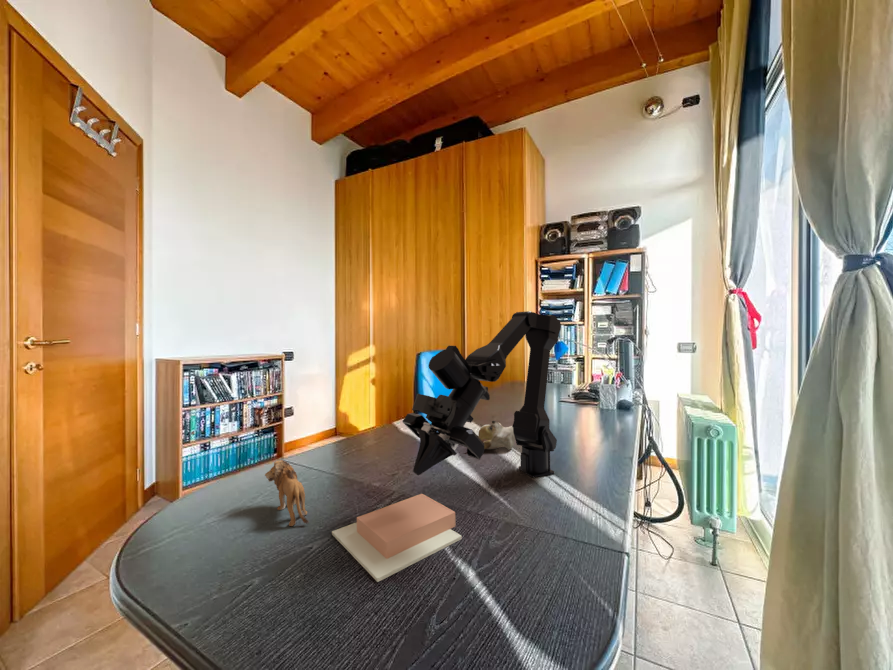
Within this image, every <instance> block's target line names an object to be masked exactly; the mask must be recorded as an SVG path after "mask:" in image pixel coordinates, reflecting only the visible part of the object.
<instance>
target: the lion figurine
mask: <svg viewBox="0 0 893 670" xmlns="http://www.w3.org/2000/svg"><path fill="white" fill-rule="evenodd" d="M264 476H265V477H266V479H267V481H268V482H270V483H271V482H273V481H274V482H273V483H274V485H275V486H276V487H275V488H276V489H277V491H278V499H279V504H280V505H279V506H278V507H277V508H276V509H277V511H283V510H285V508H286V507H287V511H288V513H289V519H290V521H289V523H288V525H289V527H293V526H296V514H295V511H294V506H295V505H296V509H297V513H298V516H299V518H300V519H301V520H302V521H303V523H304V524H309V523H310V521H309V520H308V519H307V518H306V517H305V516H307V515H308V511H307V510H306V507H305V506H306V505H305V502H306V493H305V487H304V485H303V483H302V482H301V481H299V480H298V474H297V472H296V471H295V470H294V467H293V466H292V465H291V464H290V463H289V462H287V461H285V460H280V459H279V460H277V461H275V462H273V466H272V467H271V468H270V470H269V471H267V472H266V473H264ZM285 497H286V498H285ZM285 499H286V501H285Z"/></svg>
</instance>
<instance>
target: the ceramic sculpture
mask: <svg viewBox="0 0 893 670" xmlns="http://www.w3.org/2000/svg"><path fill="white" fill-rule="evenodd" d="M512 426H513V425H510V426H503V425H502V424H501V423H500V422H498V421H496V420H492V421H491V424H490V423H489V424H484V425H482V426H481V427H480V428H479V430H478V435H477V436H478V437H479V438H480V439H481V440H482V442H483V443H484V450H496V449H498V448H506V449H507V450H508V449H509V450H510V451H511V450H512V449H513V448H514V445H515V443H516V440H515V436H514V433H513V427H512ZM495 448H496V449H495Z"/></svg>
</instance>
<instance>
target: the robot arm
mask: <svg viewBox="0 0 893 670" xmlns="http://www.w3.org/2000/svg"><path fill="white" fill-rule="evenodd" d="M561 329H562V324H561V321H560V320H559V319H558V318H557V316H556V315H553V314H549V315H548V314H540V313H536V312H533V311H532V310H528V311H527V310H526V311H516V312H514V313H513V314H512V316H511V318H510V320H509V321H508V322H507V323H506V324H505V325H504V326H503V327H502V329H501V330H499V331H498V333H497V334H496V335H495V336H494V337H493V338H492V339H491V341H489V343H487V344H486V345H484V346H481V347H478V348H476V349H475V350H474V351H472V352H471V353H470V354H468V355H467V357H466V358H464V356H463V355H462V354H461V351H460V350H459V349H460V348H458V347H457V346H456V345H448V346H446V348H445V349H442V350H440V351H439V352H438V353H436V354H435V355H433V356H432V357H431V359H430V360H429V362H428V369H429V370H430V371H431V373H432V374H433V375H434V376H435V377H436V378H437V380H438V381H439V382H440V383H441V384H442V386H443V387H444V388H445V389H446V390H451V391H450V393H449V395H446V394H445V395H444V394H438V396H437V397H434V396H430V395H427V394H422V393H421V394H420V393H417V394H416V397H415V400H414V403H413V406H412V408H411V409H412V411H414V412H418V413H422V414H424V415H426V416H423V415H422V414H418V413H414V412H411V413H410V412H409V413H407V414H406V416H405V417H404V418H403V420H402V423H403V424H404V426H406V427H407V428H408V429H409V430H410V432H412V433H413V434H414V435H415V436H416V438H419V447H418V451H417V455H416V459H415V463H414V466H413V469H412V473H414V474H415V475H417V476H421V475H422V474H424V473H425V472H426V471H428V470H429V469H431V468H432V467H434V466H436V465H437V464H439V463H440V462H442V461H444V460H446V459H448V458H449V457H452V456H454V457H455V456H457V452H456V450H457V448H458V447H459V446H461V447H464V448H466V454H467V456H469V457H470V458H473V459H475V460H478V461H480V460H481V458H482V456H483V454H484V452H485V449H484V443H483V442H482V440H481V439H480V438H479V437H478V436H479V435H478V434H476V432H475V431H474V430H473V429H472V428H468V427H465V425H466V423H469V424H471V423H473V421H474V418H473V416H472V414H473V412H474V410H475V409H476V407H477V405H478V404H479V402H480V400H485V401H490V399H491V397H490V392H489V387H488V386H484V385H483V384H482V382H480V381H483V382H491V383H495V382H497V381H498V380H499V379H500V377H501V376H502V374H503V372H504V370H505V369H506V367H507V360H506V359H507V357H508V356H509V355H510V353H511V352H512V351H513V350H514V349H515V347H516V346H517V345H518V344H519V343H520V341H521V340H522V339H523V338H524V337H525V340H526V342H527V344H528V346H529V357H528V366H527V376H526V383H525V384H526V385H525V392H524V401H523V405H522V407H521V408H520V409H519V410H515V411H514V413H513V423H512V425H511V426H512V427H513V433H514V436H515V443H516V446H519V447H521V453H520V466H518V470H520V471H522V472H523V473H524V474H526V475H528V476H529V477H531V478H539V477H544V476H549V475H554V474H555V471H554V470H552V469H551V452H554V451H555V449H556V448H557V442H558V440H557V437H555V435H554V433H553V432H552V431H551V429H550V417H549V416H548V414H547V411H546V409H545V402H546V393H547V384H548V374H549V365H550V355H551V351H552V349H553V348H554V347H555V346H556V344H557V343H558V341H559V337H560V332H561ZM430 422H431V423H430Z"/></svg>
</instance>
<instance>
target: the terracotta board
mask: <svg viewBox="0 0 893 670" xmlns="http://www.w3.org/2000/svg"><path fill="white" fill-rule="evenodd" d="M356 522H357V532H358V533H359V534H360V535H361V536H362V537H363V538H364V539H365V540H366V541H368V542H369V543H370V544H371V545H372V546H373V547H374V548H375V549H376V550H377V551H379V552H380V553H381V554H382V555H383V556H384V557H385V558H386V559H388V558H390V557H392V556H394V555H396V554H398V553H400V552H402V551H404V550H407V549H409V548H411V547H413V546H415V545H417V544H419V543H421V542H423V541H426V540H428V539H430V538H432V537H434V536H436V535H438V534H440V533H442V532H444V531H447V530H449V529H451V530H452V529H453V528H455V527H456V511H454V510H452V509H451V508H449V507H447V506H445V505H443V504H442V503H440V502H439V501H436V500H434V499H432V498H430V496H428V495H425V494H423V493H420V494H417V495H414V496H411V497H409V498H406V499H404V500H401V501H398V502H395V503H392V504H390V505H389V504H388V505H387V506H384V507H382V508H378V509H376V510H374V511H371V512H368V513H365V514H362V515H359V516H356Z"/></svg>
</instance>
